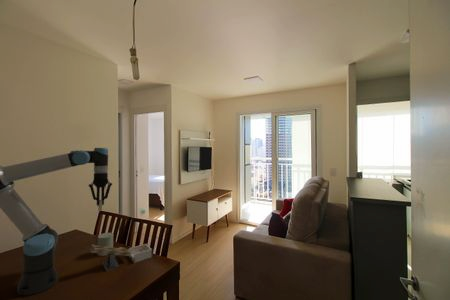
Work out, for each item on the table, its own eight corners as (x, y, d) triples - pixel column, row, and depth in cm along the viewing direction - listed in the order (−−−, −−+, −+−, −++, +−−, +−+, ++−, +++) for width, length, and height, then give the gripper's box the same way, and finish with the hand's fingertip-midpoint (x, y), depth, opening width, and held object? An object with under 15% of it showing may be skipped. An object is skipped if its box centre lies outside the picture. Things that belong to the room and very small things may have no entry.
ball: (140, 253, 134) (144, 249, 136) (138, 251, 136) (142, 248, 138) (142, 257, 135) (147, 253, 137) (141, 255, 137) (145, 251, 139)
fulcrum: (106, 271, 118) (106, 257, 119) (102, 264, 126) (102, 250, 126) (119, 267, 123) (119, 253, 123) (115, 260, 131) (115, 247, 131)
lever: (90, 254, 116) (93, 247, 117) (87, 247, 125) (90, 240, 126) (129, 258, 129) (132, 251, 130) (123, 251, 138) (126, 244, 139)
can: (108, 256, 136) (108, 237, 136) (94, 255, 136) (94, 237, 136) (116, 249, 145) (116, 232, 145) (102, 249, 145) (103, 231, 145)
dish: (134, 263, 128) (134, 254, 128) (128, 256, 136) (128, 248, 136) (152, 257, 135) (152, 249, 135) (145, 251, 143) (146, 243, 143)
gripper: (89, 173, 125) (88, 213, 124) (113, 172, 133) (113, 210, 133) (87, 172, 130) (86, 211, 130) (111, 171, 139) (110, 207, 139)
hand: (100, 210), depth 131 cm, fingers closed
